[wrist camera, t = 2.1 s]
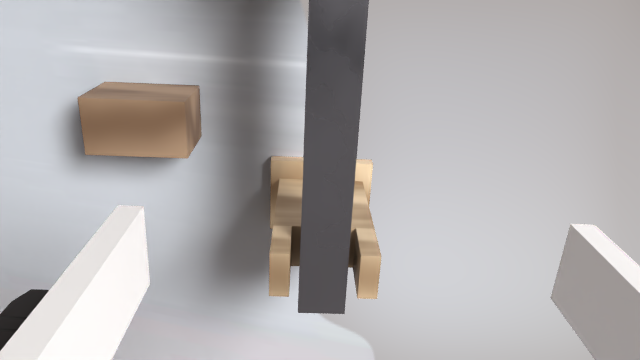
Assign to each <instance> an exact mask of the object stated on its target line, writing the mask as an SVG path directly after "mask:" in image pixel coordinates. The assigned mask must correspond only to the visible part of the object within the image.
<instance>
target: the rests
mask: <svg viewBox="0 0 640 360" xmlns="http://www.w3.org/2000/svg"><path fill="white" fill-rule="evenodd" d="M78 104H79V111H80V119H81V126H82V133H83V141H84V148H85V155H109V156H137V157H165V158H188V157H189V155H190V154H191V152H192V151H193V149H194V147H195V146H196V144H197V143H198V141H199V139H200V138H201V114H200V91H199V86H195V85H171V84H146V83H122V82H104V83H102V84H100V85H99V86H97V87H95V88H93V89H92V90H90V91H88V92H87V93H85V94H83V95H81V96H80V97H78Z"/></svg>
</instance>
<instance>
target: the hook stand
mask: <svg viewBox="0 0 640 360" xmlns="http://www.w3.org/2000/svg"><path fill="white" fill-rule="evenodd" d="M372 168H373V163H372V160H365V159H356V171H355V184H354V197H353V210H352V222H351V235H350V248H349V261H348V267H352V268H353V272H354V278H355V285H356V292H357V298H363V299H366V298H367V299H377V293H378V283H379V273H380V265H381V253H380V249H379V245H378V241H377V237H376V234H375V229H374V225H373V221H372V217H371V213H370V210H369V201H370V190H371V179H372ZM302 184H303V157H282V156H272V157H271V199H270V229H273V231H272V238H271V246H270V254H269V296H287V297H289V285H290V268H291V266H300V239H301V212H302Z"/></svg>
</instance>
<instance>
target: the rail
mask: <svg viewBox="0 0 640 360" xmlns="http://www.w3.org/2000/svg"><path fill="white" fill-rule="evenodd" d="M368 4H369V0H309V17H308V44H307V72H306V100H305V128H304V156H303V184H302V212H301V239H300V267H299V296H298V313H332V314H344V311H345V299H346V287H347V274H348V261H349V248H350V235H351V222H352V210H353V197H354V184H355V171H356V158H357V145H358V132H359V119H360V106H361V94H362V80H363V68H364V55H365V41H366V29H367V17H368Z"/></svg>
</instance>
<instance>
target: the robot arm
mask: <svg viewBox="0 0 640 360" xmlns="http://www.w3.org/2000/svg"><path fill="white" fill-rule="evenodd" d="M149 285H150V276H149V265H148V253H147V241H146V229H145V218H144V206H126V205H118V206H117V207H116V208H115V209H114V211H113V212H112V213H111V214H110V216H109V217H108V218H107V219H106V220H105V222H104V223H103V224H102V225H101V227H100V228H99V229H98V230H97V232H96V233H95V234H94V235H93V237H92V238H91V239H90V240H89V242H88V243H87V244H86V245H85V247H84V248H83V249H82V250H81V252H80V253H79V254H78V255H77V257H76V258H75V259H74V260H73V261H72V263H71V264H70V265H69V266H68V268H67V269H66V270H65V271H64V273H63V274H62V275H61V276H60V278H59V279H58V280H57V281H56V283H55V284H54V285H53V286H52V288H51V289H50V290H34V289H31V290H29V291H28V292H26V293H25V294H23V295H21V296H20V297H18V298H17V299H15V300H13V301H12V302H11V303H10V304H9V305H8V306H7V307H6V308H5V310H4V311H3V312H2V313H1V314H0V360H112V358H113V356H114V354H115V352H116V350H117V348H118V346H119V344H120V342H121V340H122V338H123V336H124V334H125V332H126V330H127V328H128V326H129V324H130V322H131V320H132V318H133V316H134V314H135V312H136V310H137V308H138V306H139V305H140V303H141V301H142V299H143V297H144V295H145V293H146V291H147V289H148V287H149ZM551 299H552V301H553V302H554V303H555V305H556V306H557V308H558V309H559V310H560V312H561V313H562V314H563V316H564V317H565V319H566V320H567V322H568V323H569V324H570V326H571V327H572V328H573V330H574V331H575V333H576V334H577V335H578V337H579V338H580V339H581V341H582V342H583V344H584V345H585V347H586V348H587V349H588V351H589V352H590V353H591V355H592V356H593V358H594V359H595V360H640V266H639V265H638V264H637V263H636V262H635V261H633V260H632V259H631V258H630V257H629V256H628V255H627V254H626V253H625V252H624V251H623V250H621V249H620V248H619V247H618V246H617V245H616V244H615V243H614V242H613V241H612V240H611V239H609V238H608V237H607V236H606V235H605V234H604V233H603V232H602V231H601V230H600V229H599V228H597V227H596V226H595V225H585V224H570V228H569V231H568V235H567V239H566V243H565V246H564V250H563V254H562V257H561V261H560V265H559V269H558V272H557V276H556V280H555V284H554V288H553V291H552V295H551Z"/></svg>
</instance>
